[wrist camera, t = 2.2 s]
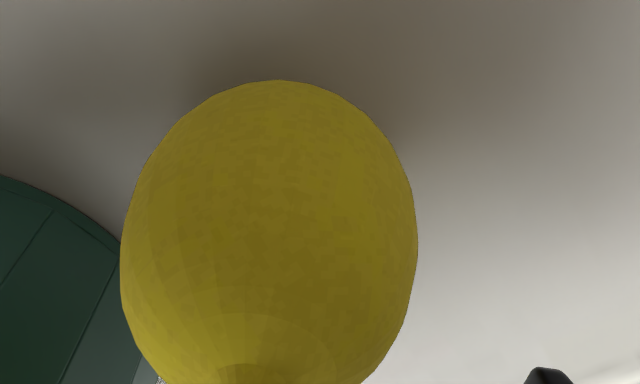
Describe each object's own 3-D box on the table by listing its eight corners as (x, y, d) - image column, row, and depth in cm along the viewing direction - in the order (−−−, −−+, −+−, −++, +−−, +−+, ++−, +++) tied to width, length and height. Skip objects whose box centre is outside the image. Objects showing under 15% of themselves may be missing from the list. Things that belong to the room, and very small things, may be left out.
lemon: (393, 219, 16) (424, 518, 10) (197, 216, 16) (95, 504, 10) (410, 25, 13) (473, 273, 6) (165, 23, 13) (-18, 262, 7)
